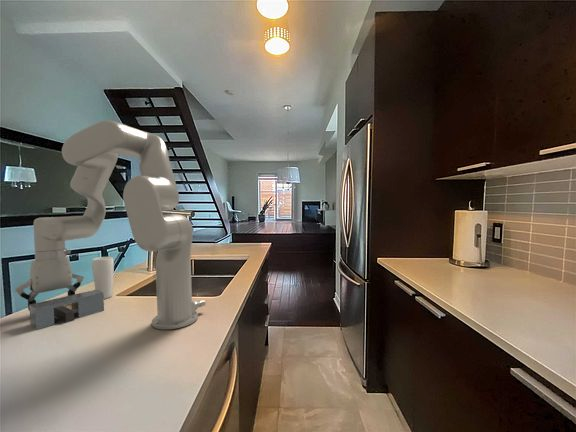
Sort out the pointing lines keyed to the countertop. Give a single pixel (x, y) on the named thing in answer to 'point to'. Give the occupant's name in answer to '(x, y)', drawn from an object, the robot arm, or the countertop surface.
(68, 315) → the plug
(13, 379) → the countertop surface
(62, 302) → the housing
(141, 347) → the countertop surface
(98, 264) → the drinking glass
